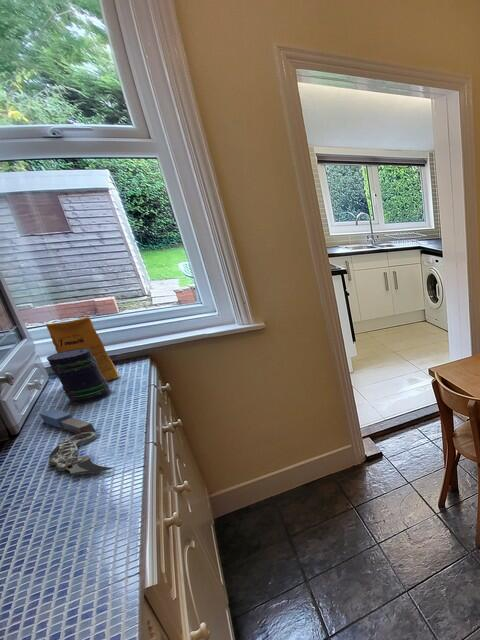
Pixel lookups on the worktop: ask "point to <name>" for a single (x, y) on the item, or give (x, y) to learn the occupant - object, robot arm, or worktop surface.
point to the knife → (68, 461)
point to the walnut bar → (77, 426)
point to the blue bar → (55, 417)
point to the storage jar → (79, 375)
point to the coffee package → (82, 343)
